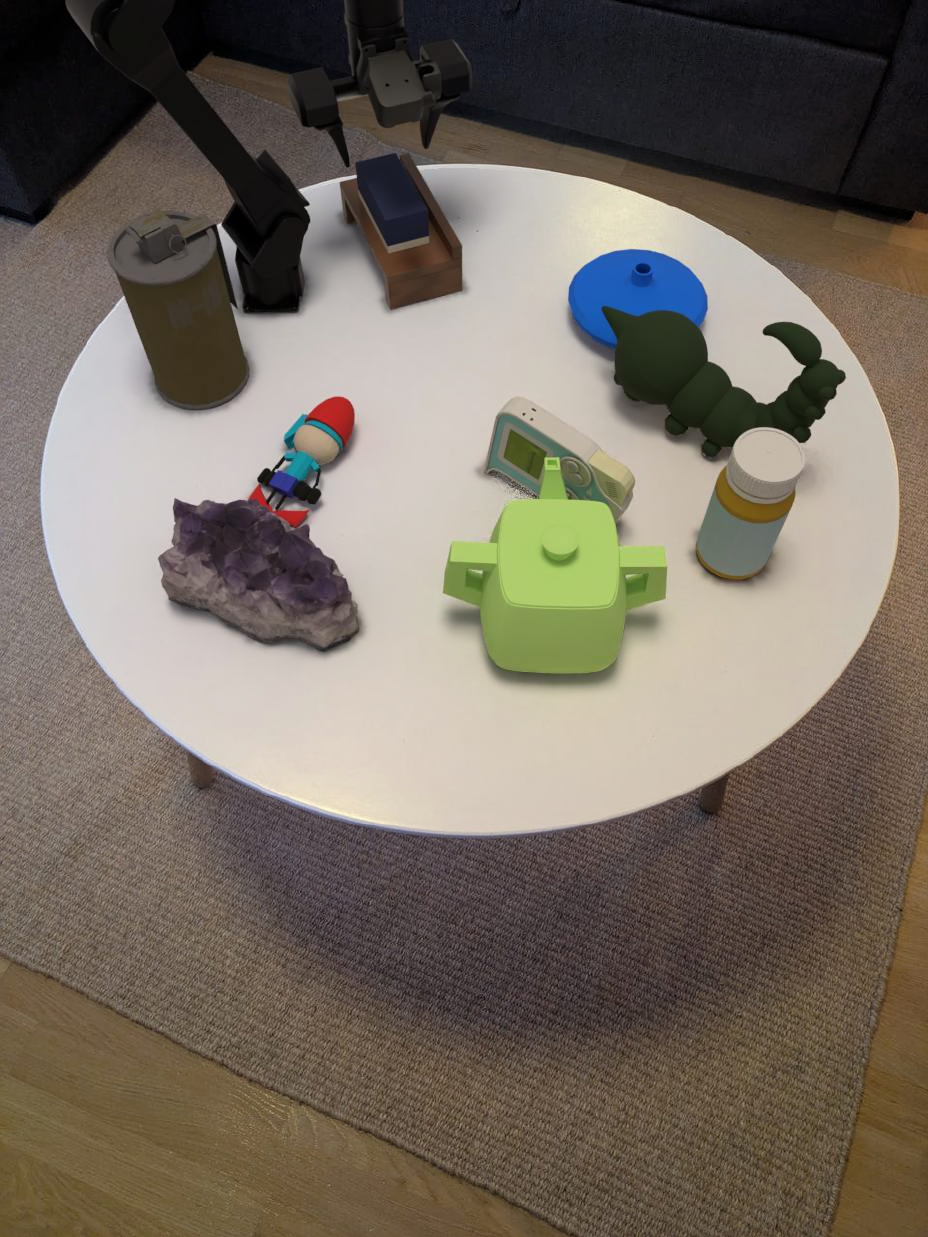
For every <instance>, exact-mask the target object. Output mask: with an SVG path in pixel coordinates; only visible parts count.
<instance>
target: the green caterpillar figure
mask: <svg viewBox="0 0 928 1237" xmlns="http://www.w3.org/2000/svg"><path fill="white" fill-rule="evenodd" d="M602 312H603V314H604V316H605V318H606V320H607V322H608V323H609V325H610V327H611V329H612V330H613V332H614V334H615V336H616V338H617V344H616V347H615V349H614V354H613V356H614V357H613V366H614V374H613V381H614V383H615V385H617V386H620V387H621V388H622V389H623V393H624V395H625V397H626V398H627V399H629V401H633V402H642V403H644V404H648V405H652V406H666V409H667V410H668V412H669V413H668V414H667V416H666V417H665V418H664V430H665V431H666V432H667V433H668V435H671V436H672V437H679V436H682V435H685V434H686V433H687V432H688V431H689V428H692V429H699V431H700V433H701V435H702V436H703V437H704V438H705V440H704V441H703V442H702V443H701V447H700V448H701V453H702V454H703V455H704V456H705V457H706V458H716V457H717V456H718V455H719V454H720V453H721V451H722V449H723V448H733V446H734V444H735V442H736V440H737V439H738V438H739V437H740V436H741V435H742V434H743V433H745V432H746V431H748V430H751V429H754V428H760V427H768V428H775V429H778V430H781V431H784V432H786V433H788V434H789V435H791V436H792V437H794V438H795V439H796V440H797V441H798V442H799V443H800V444H806V443H807V442H808V441H809V440H810V438H811V437H812V431H811V427H812V426H813V424H815V422H816V421H819V420H821V419H822V418H823V417H824V416H825V414H826V412H827V411H826V407H827V405H828V404H829V402H830V401H832V400H834V399H835V398H836V396H837V389H838V387H839V386H840V385H841V384H843V383H844V382H845V380H846V378H847V376H846V372H845V371H844V370H842V369H839V368H838V366H837V365H836V364H835V363H834V362H832V361H831V360H829V359H825V358H821V357H822V355H823V348H822V343H821V341H820V340H819V339H818V336H817V335H815V334H814V333H813V332H812V331H811V330H810V329H808V328H807V327H806V326H805V327H804V326H803V325H801V324H799V323H797V322H796V323H795V322H792V321H775V322H773V323H770V324H768V325H766V326H765V327H764V328H763V329H762V335H763V336H765V337H772V338H774V339H776V340H778V341H779V342H780V343H781V344H782V345H783V346H784V347H786V349H787V350H788V351H789V353H790V354H791V356H792V357H793V359H794V360H795V361H796V362H797V363H799V364H800V365H802V366H804V367H803V368H802V370H801V372H800V374H799V375H797V376H796V377H794V378H793V379H792V380H791V381H790V383H789V385H788V386H787V389H786V390H784V391H782V393H780V394H779V395H778V396H777V397H776V398H775V400H774V401H771V402H768V403H767V404H766V403H764V402H757V400H756V399H755V398H754V396H753V394H751V393H750V392H748V391H747V390H745V389H744V388H742V387H738V386H733V384H732V381H731V378H730V375H728V373H727V372H726V370H724V369H723V368H722V367H721V366H720V365H718V364H716V363H715V362H712V361H709V349H708V345H707V341H706V339H705V336H704V334H703V332H702V330H701V329H700V327H698V326H697V325H696V324H695V323H694V322H693V321H691V320H690V319H689V318H688V317H686V316H685V315H683V314H680V313H678V312H674V311H668V310H656V311H651V312H647V313H645V314H642V315H640V316H635V315H631V314H628V313H625V312H623V311H620V310H617V309H614V308H612V307H608V306H603V307H602Z"/></svg>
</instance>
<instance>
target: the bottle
mask: <svg viewBox="0 0 928 1237" xmlns="http://www.w3.org/2000/svg"><path fill="white" fill-rule="evenodd" d="M805 465H806V454H805V450H804V448H803V446H802V445H801V443H799V442H798V441H797V440H796V439H795V438H794V437H792V436H791V435H789V434H788V433H786V432H784V431H781V430H778V429H775V428H768V427H760V428H754V429H751V430H748V431H746V432H745V433H743V434H742V435H741V436H740V437H739V438H738V439H737V440H736V442H735V444H734V446H733V447H732V448H731V451H730V454H729V457H728V461H727V464H725V466H724V467H723V468H722V469H721V470H720V472H719V474H718V475H717V478H716V481H715V484H714V487H713V490H712V493H711V497H710V499H709V502H708V505H707V508H706V511H705V514H704V517H703V520H702V523H701V526H700V529H699V531H698V535H697V539H696V543H695V548H696V554H697V556H698V559H699V560H700V562H701V564H702V565H703V566H704V567H705V568H706V569H707V570H708V571H710V572H711V573H712V574H714V575H717V576H719V577H721V578H725V579H728V580H744V579H745V580H746V579H749V578H752V577H754V576H756V575H757V574H758V573H760V572H762V570H763V569H764V567H765V566H766V564H767V562H768V561H769V558H770V556H771V553H772V551H773V550H774V547H775V545H776V543H777V540H778V538H779V536H780V534H781V532H782V530H783V527H784V525H785V523H786V520H787V518H788V516H789V514H790V512H791V510H792V507H793V505H794V503H795V499H796V495H797V494H796V493H797V491H796V485H797V484H798V482H799V481H800V477H801V475H802V474H803V471H804V469H805Z"/></svg>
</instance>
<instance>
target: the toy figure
mask: <svg viewBox="0 0 928 1237" xmlns="http://www.w3.org/2000/svg"><path fill="white" fill-rule="evenodd" d="M355 416H356V414H355V409H354V405H353V404H352V402H351V401H350V400H349V399H348V398H347V397H344V396H332V397H329V398H327V399H325V400H323V401H322V402H320V403H319V404H317V405H316V406H314V408H313V409H312V410H311V411H310V412H309V413H308V414H304V413H302V414H301V415H300V416H299V418H298V419H297V420H296V421H295V422H294V423H293V424H292V426H291V427H290V428H289V429H288V430H287V431H286V432H285V434H284V437H283V442H284V444H285V445H286V447H287V449H288V450H291V449H293V450H294V451H295V452H285V454H284V455H283V456H282V457H281V458H280V459H279V461H278V462H277V464H275V466H274V467H273V468H272V469H270V468H269V467H265V468H264V469H262V471H261V472H260V473H259V474H258V476H257V478H256V479H257V480H256V481H257V483H258V484H257V486H256V487H255V488H254V489H253V491H252V492H251V493H250V495H249V497H248V499H257V500H258V501H259V503H260V505H261V506H267V508H268V510H269V511H271V512H272V513H275V514H276V515H277V516H279V517H281V518H283V519H284V520H286V521H287V522H288V523H289V524H290V526H291V527H293V528H298V527H299V526H300V524H301V523H302V522H303V521H304V519H305V518H306V517H307V515H308V514H309V512H310V510H311V509H310V508H308V509H306V510H287V509H286V510H283V509H280V508H281V507H282V505H283V504H284V502H285V500H286V499H287V498H289V499H290V500H293V499H294V497H296V498H297V499H298V501H299V502H307V504H309V505H310V506H314V505H316V504H318V501H319V500H320V498H321V497H322V491H321V489H319V487H318V486H319V485H320V479H321V473H322V469H321V467H320V466H321V465H326V464H329V463H330V462H332V461H334V460H335V458H337V456H338V454H339V453H340V452H342V450H343V449H344V448H345V447H346V445H347V444H348V442H349V440H350V438H351V436H352V433H353V429H354V426H355ZM284 462H287V463H289V464H288V466H287V468H286V469H285V470H284V471H282V470H280V467H282V465H283V463H284ZM319 465H320V466H319ZM276 470H277V471H276ZM312 470H313V471H314V472H315V474H316V478H315V482H314V485H312V486H311V485H309V484H308V483H307V482H306V479H307V478H308V476H310V473H311V472H312ZM261 484H263V485H264V486H265V487H269V488H270V489H271V490H272V491H271V493H270V494H269V496H268V497H267V498H266V495H265V494H264V493H263V491H262V489H261ZM276 494H279V495H281V498H280V499H279V501H278V502H277V503H276V505H275V507H274V510H273V508H272V506H271V504H270V503H271V501H272V500H273V498H274V497H275V495H276Z"/></svg>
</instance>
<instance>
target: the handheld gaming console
mask: <svg viewBox="0 0 928 1237" xmlns="http://www.w3.org/2000/svg"><path fill="white" fill-rule="evenodd" d="M545 457H559V461H560V467H561V471H562V476H563V480H564V485H565V489H566V493H567V498H568V500H587V501H597V502H602V503H605V504H606V505H607V506H608V507H609V509H610V510H611V512H612V515H613V518H614V522H615V525H617V524H618V522H619V520H620V519H621V517H623V514H625V512H626V511H627V509H629V507H630V505H631V502H632V500H633V498H634V493H633V490H634V488H635V486H636V478H635V476H634V474H633V472H632V471H631V469H630V468H628V467H627V466H626V465H625V464H623V463H622V462H620V461H618V460H617V459H615V458H614V457H612V456H611V455H609V454H607V453H606V452H604V450H603V449H602V447H601V446H600V445H599V444H598V443H597V442H596V441H595V440H593V439H592V438H590V437H589V436H588V435H586V434H584V433H583V432H581V431H579V430H578V429H576V428H574V427H573V426H571V425H570V424H568V423H566V422H565V421H563V420H562V419H560V418H559V417H557V416H556V415H554V414H553V413H551V412H549V411H548V410H546V409H545V408H543V407H542V406H540V405H538V404H536V403H535V402H534V401H532V400H531V399H529V398H526V397H524V396H516V397H512V398H510V399H509V400H508V402H506V404H504V406H503V407H502V408H501V409H500V410H499V411H498V413H497V414H496V416H495V419H494V423H493V427H492V433H491V437H490V441H489V445H488V449H487V455H486V459H485V464H484V468H483V472H485V473H486V474H490V472H491V471H496V472H499V473H501V474H502V475H503V476H506V477H507V478H509V479H510V480H512V481H513V482H514V483H516V484H518V485H519V486H521V487H523V488H524V489H525V490H527V491H529V492H530V493H531V494H533V495H534V496H536V497H537V498H539V494H540V487H541V480H542V473H543V466H544V458H545Z"/></svg>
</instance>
